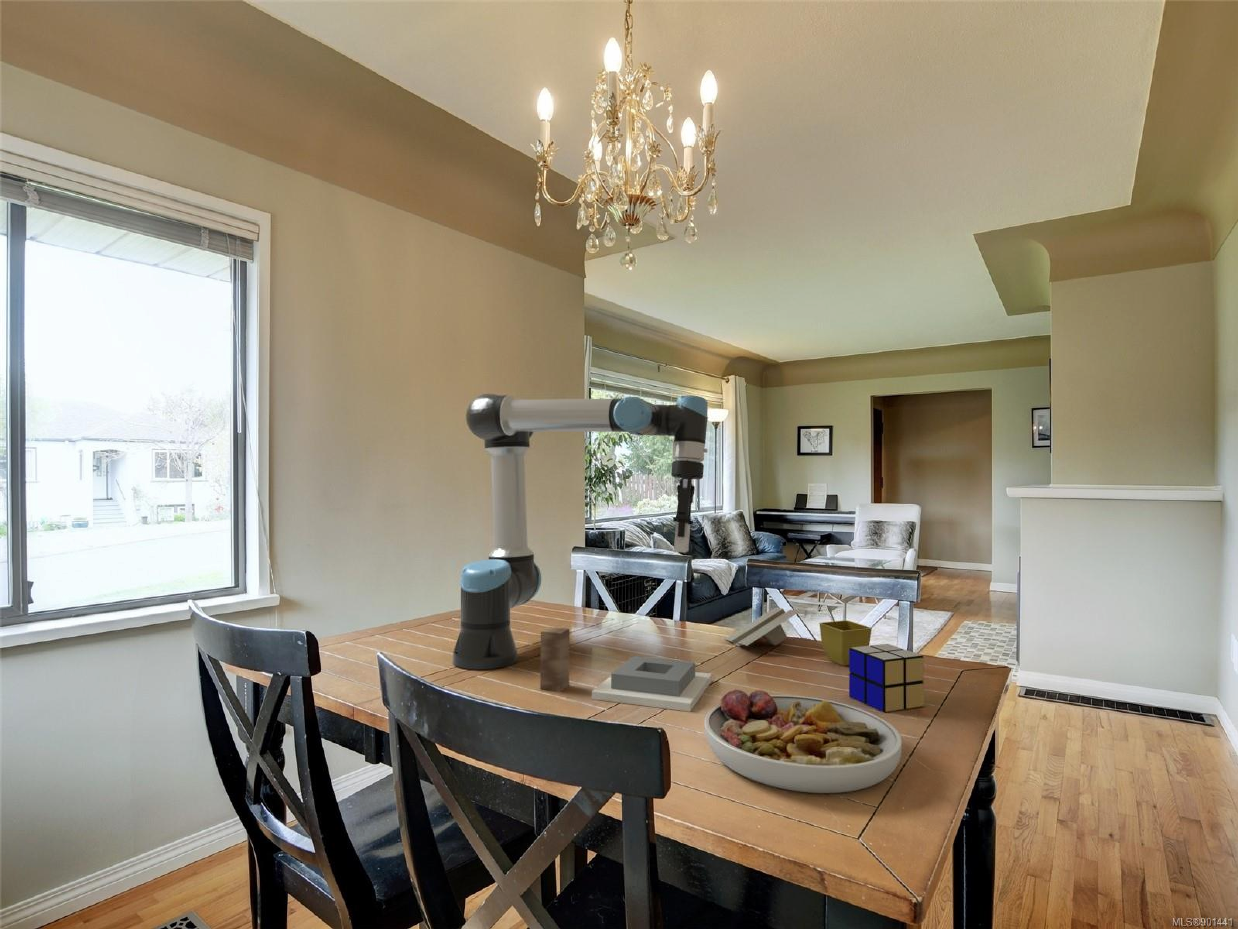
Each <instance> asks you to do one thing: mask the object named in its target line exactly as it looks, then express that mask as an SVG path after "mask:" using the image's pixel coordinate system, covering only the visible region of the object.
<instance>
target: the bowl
mask: <svg viewBox="0 0 1238 929" xmlns="http://www.w3.org/2000/svg"><path fill="white" fill-rule="evenodd" d="M720 701H721V702H720V704H717V705H716V706H715V707H713V708H711V709H710V710H709V711H708V712H707V713H706V716H705V718H704V735H705V739H706V740H707V741H706V742H707V744H708V746H709V749H711V751H712V752H713V753H714V755H715V757H717V758H718V760H719V761H720V762H722V763H723V764H724V765H725V766H727V767H728V768H730V769H731V770H732V771H734V772H736V773H737V774H739V775H741V776H742V777H746V778H747V779H749V780H752V781H755V782H757V783H760V784H762V785H763V784H764V785H766V786H769V787H773V788H778V789H782V790H786V791H787V790H788V791H794V792H800V793H809V794H810V793H813V794H839V793H847V792H854V791H859V790H862V789H866V788H869V787H872V786H874V785H876V784H878V783H880V782H882V781H884V780H885V779H886V778H888V777H889V776H890V775H891V774H892V773H893V772H894V771H895V769H896V768H897V766H898V765H899V762H900V760H901V757H902V751H903V744H902V743H903V741H902V737H901V734H900V733H899V731H898V730H897V728H895V727H894V726H893V725H892V724H891V723H889V722H888V721H887V720H885V719H883V718H882V717H879V715H876V714H874V713H872V712H869V711H867V710H864V709H862V708H858V707H856V706H853V705H851V704H846V703H842V702H838V701H833V700H829V699H822V698H818V697H817V698H816V697H810V696H802V695H787V694H770V693H768V692H767V691H764V690H754V691H752V692H751V693H749V694H747V692H745V691H743V690H739V689H733V690H731V691H728V692H727V693H726V694H724V695H723V696H722V697H721V699H720Z"/></svg>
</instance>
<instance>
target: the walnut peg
mask: <svg viewBox="0 0 1238 929" xmlns="http://www.w3.org/2000/svg"><path fill="white" fill-rule="evenodd" d="M539 681H540V682H539V683H540V684H539V686H540V687H539V688H540V691H542V690H543V691H549V692H557V693H560V692H562V691H564V690H565V689H566V688H568V687H569V686H570V628H567V627H555V626H549V627H546V628H545V629H543V630H541V631H540V680H539Z"/></svg>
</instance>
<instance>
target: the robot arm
mask: <svg viewBox="0 0 1238 929" xmlns="http://www.w3.org/2000/svg"><path fill="white" fill-rule="evenodd" d="M708 404H709V403H708V400H707V399H706V398H705V397H703V396H700V395H690V394H689V395H680V396H679V397H678V398H677V399H676V402H675V404H654V403H652V402H649V401H646V400H644V399H643V398H640V397H639V396H626V397H623V398H565V399H564V398H563V399H562V398H561V399H560V398H557V399H556V398H555V399H554V398H553V399H552V398H551V399H548V398H547V399H541V398H540V399H537V398H536V399H518V398H515V397H514V395H507V394H506V395H504V394H502V395H501V394H500V395H499V394H494V393H484V394H481V395H478V396H477V397H475V398H474V399H473V400H471V401H470V403H469V405H468V406H467V409H466V414H465V420H466V425H467V427H468V429H469V431H471V434H474V435H475V437H478V438H479V439H481V440H484V451H485V452H486V453H487V454H488V455H489V456H490V465H491V466H490V469H491V492H492V522H493V546H494V547H493V549H492V550H491V552H490V553H489V554H488V559H483V560H477V561H472V562H471V563H468V564H466V565H465V566H463V569H462V570H461V575H460V576H461V578H460V583H459V584H460V585H459V586H460V630H459V634H458V637H457V639H456V643H455V646H454V649H453V652H452V664H453V665H454V666H456V667H458V668H461V669H466V670H492V669H499V668H504V667H508V666H510V665H513V664H514V663H516V662H517V661H518V648H517V645H516V642H515V638H514V635H513V633H512V629H511V609H513V608H515V607H517V606H521V605H524V604H526V603H528V602H529V601H530V600H532V599H533V598H534V597H535V596H536V595H537V593H538V592H539V590H540V588H541V585H542V573H541V569H540V568H539V566H538V565H537V564H536V563H535V554H534V551H532V549H531V548H530V547H529V546H528V545H529V544H528V524H527V498H526V495H527V494H526V472H525V471H526V470H525V467H526V466H525V455H526V453H527V452H528V451H529V450H531V449H530V448H531V447H530V446H531V445H530V439H531V438H532V436H533V435H534V433H535V432H561V433H562V432H567V433H568V432H570V433H571V432H577V433H578V432H590V433H592V432H594V433H595V432H596V433H597V432H598V433H599V432H601V433H603V432H605V433H606V432H607V433H609V432H616V433H628V434H629V435H637V436H642V437H643V436H656V437H657V436H663V437H664V436H666V437H667V436H668V437H673V443H672V444H673V446H672V459H673V461H672V463H671V472H670V474H671V477H673V478H676V479H679V484H677V490H676V492H677V495H676V496H677V497H676V498H677V507H676V515H675V516H673V519H672V522H673V523H675V533H674V542H673V543H674V545H673V552H674V553H675V552H676V553H687V552H689V549H690V548H689V546H690V536H691V535H690V534H691V525H694V520H692V518H691V515H692V504H693V503H694V495H695V488H696V487H695V485H694V484H693V480H701V479H703V478H704V466H705V465H704V463H703V462H704V461H705V453H707V454H708V451H709V450H708V448H706V438H707V430H708V429H707V428H708V419H709V416H708V411H709V410H708V406H709V405H708Z"/></svg>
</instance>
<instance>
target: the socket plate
mask: <svg viewBox="0 0 1238 929" xmlns="http://www.w3.org/2000/svg"><path fill="white" fill-rule="evenodd" d="M712 681H713V674H712V673H709V672H700V671H699V672H697V671H696V662H695V661H686V660H678V659H676V660H675V659H665V658H655V657H649V656H648V657H647V656H637V655H633V656H632V657H629V659H628V660H626V661H625V662H624V663H623V664H621V665H620V666H619V667H618V668H616V669H615V670H614V671H612V672H611V674H610V676H609V677H608V678H607V679H605V680H604V681H603V682H601V683H600V684H599V685H598V686H597V687H596V688H594V689H593V690H592V691H591V700H597V701H605V702H612V703H621V704H628V705H634V706H635V705H636V706H644V707H651V708H659V709H668V710H674V711H675V710H676V711H683V712H689V713H690V712H691V711H692V709H694V707H695V706H696V704H697V703H698V701H699V700H700V699H701V697H702V696H703V694H704V693H705V691H706V690H707V688H708V687H709V686H710V684H711V683H712Z"/></svg>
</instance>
